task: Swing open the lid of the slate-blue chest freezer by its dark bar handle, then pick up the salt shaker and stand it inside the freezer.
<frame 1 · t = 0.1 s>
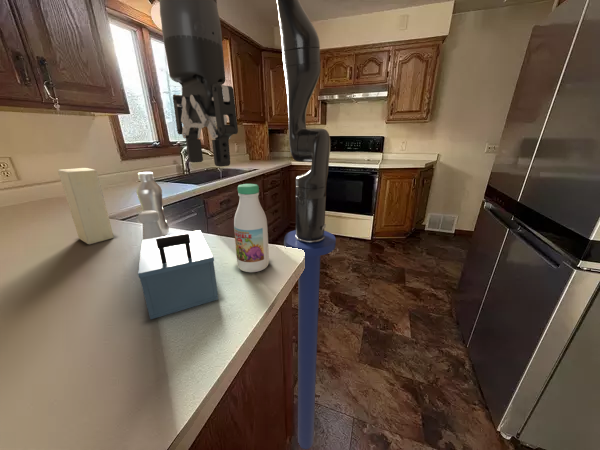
hand: (208, 164, 39), 26 cm above the counter, tool pointing down, fingers open, 8 cm apart
freezer: (182, 288, 51), on the counter
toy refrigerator: (98, 238, 76), on the counter
salt shaker: (158, 260, 63), on the counter
freezer lid: (173, 238, 47), point 12 cm above the counter, hinge at 0.0°
milk bottle: (253, 265, 61), on the counter
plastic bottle: (158, 237, 77), on the counter
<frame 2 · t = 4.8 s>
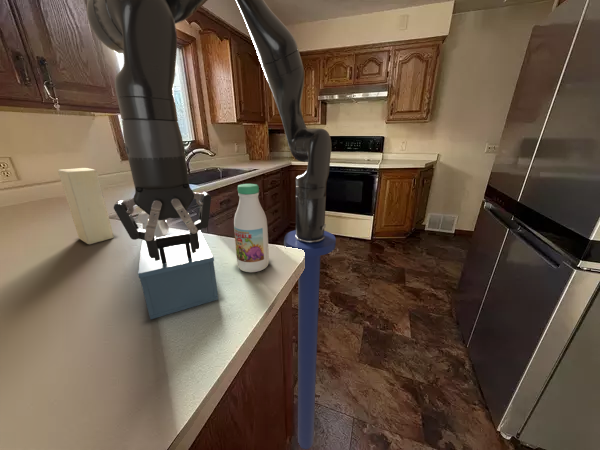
hand: (176, 254, 42), 11 cm above the counter, tool pointing down, fingers closed on freezer lid, 5 cm apart
freezer lid: (173, 238, 47), point 12 cm above the counter, hinge at 0.0°, touching gripper
everything else where it was.
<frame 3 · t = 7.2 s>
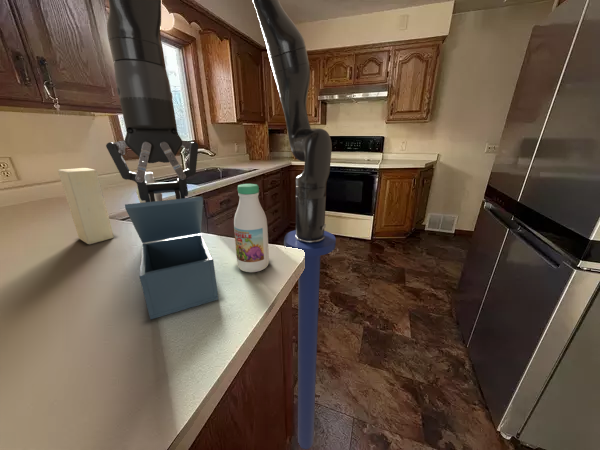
hand: (165, 200, 45), 19 cm above the counter, tool pointing down, fingers closed on freezer lid, 5 cm apart
freezer lid: (168, 211, 48), point 16 cm above the counter, hinge at 42.5°, touching gripper
everything else where it was.
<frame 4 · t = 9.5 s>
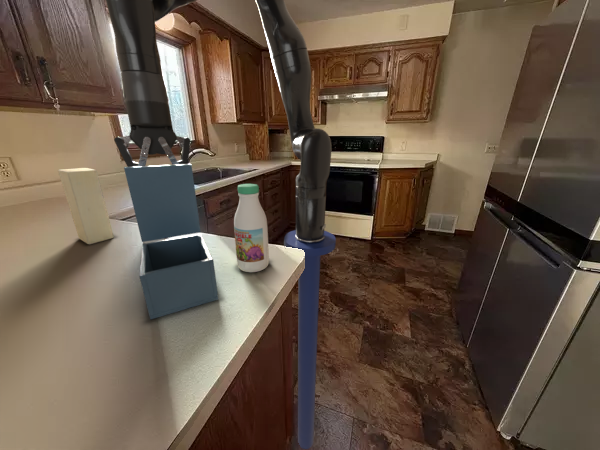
hand: (163, 186, 54), 20 cm above the counter, tool pointing down, fingers closed on freezer lid, 5 cm apart
freezer lid: (165, 200, 53), point 17 cm above the counter, hinge at 86.8°, touching gripper
everything else where it was.
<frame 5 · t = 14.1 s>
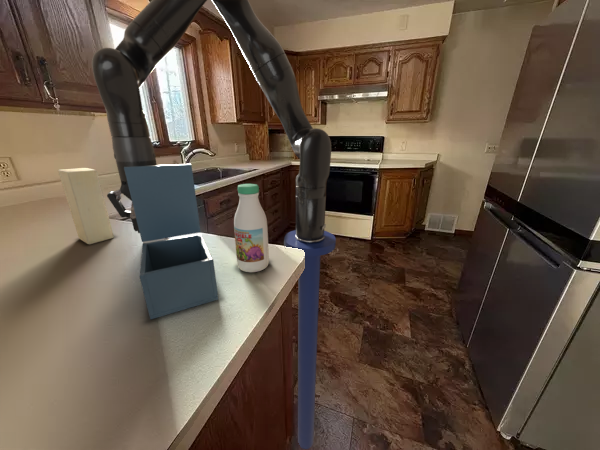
hand: (151, 230, 60), 8 cm above the counter, tool pointing down, fingers closed on salt shaker, 4 cm apart
salt shaker: (158, 260, 63), on the counter, touching gripper
freezer lid: (165, 200, 53), point 17 cm above the counter, hinge at 87.4°
everything else where it was.
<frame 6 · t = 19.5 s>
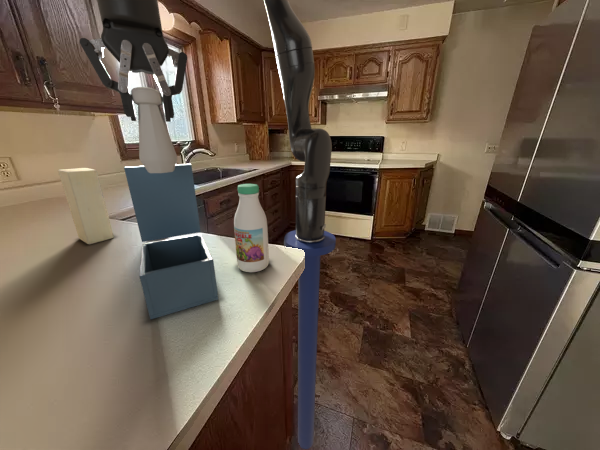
hand: (151, 120, 40), 32 cm above the counter, tool pointing down, fingers closed on salt shaker, 4 cm apart
salt shaker: (161, 172, 43), point 24 cm above the counter, touching gripper
everything else where it was.
when the fingers open (9 cm above the counter, at t = 24.9 s): salt shaker stays where it is, resting on freezer.
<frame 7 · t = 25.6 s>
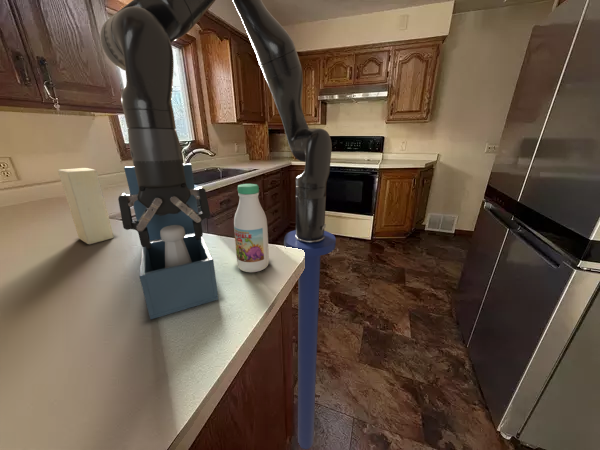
hand: (174, 243, 48), 10 cm above the counter, tool pointing down, fingers open, 8 cm apart
salt shaker: (182, 285, 51), point 1 cm above the counter, touching freezer
everything else where it was.
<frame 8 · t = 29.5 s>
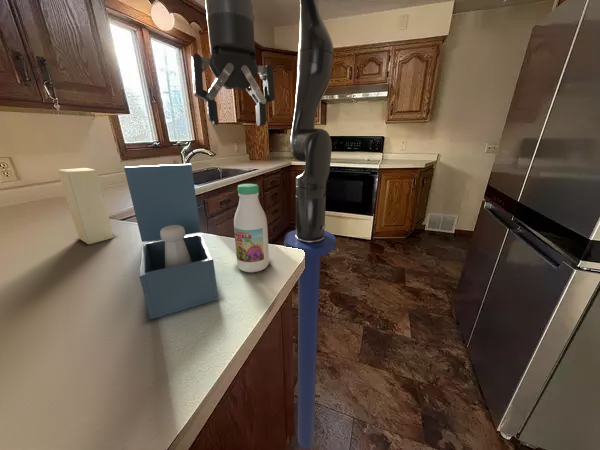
hand: (238, 125, 46), 32 cm above the counter, tool pointing down, fingers open, 8 cm apart
nothing on the counter moved.
at the end: freezer lid at +87° (first picture: +0°); salt shaker inside the target area in the freezer (0.1 cm from its centre), point 0.6 cm above the freezer's base; salt shaker tilted 0° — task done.
